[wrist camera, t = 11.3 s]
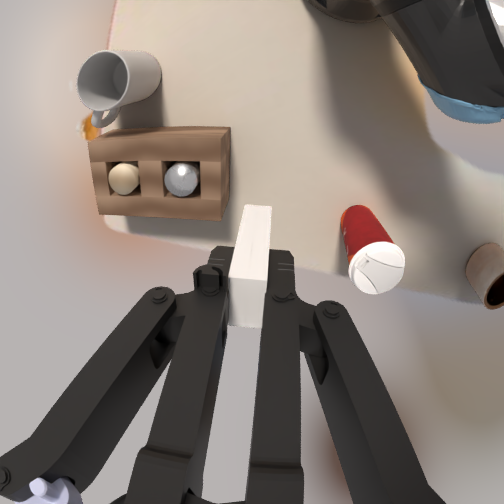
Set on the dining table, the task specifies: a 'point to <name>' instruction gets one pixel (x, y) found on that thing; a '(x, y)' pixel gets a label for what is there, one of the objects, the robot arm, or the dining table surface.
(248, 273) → the robot arm
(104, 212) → the walnut socket block
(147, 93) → the mug
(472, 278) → the planter
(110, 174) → the beech peg
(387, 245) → the coffee cup
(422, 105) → the dining table surface
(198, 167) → the aluminium peg
